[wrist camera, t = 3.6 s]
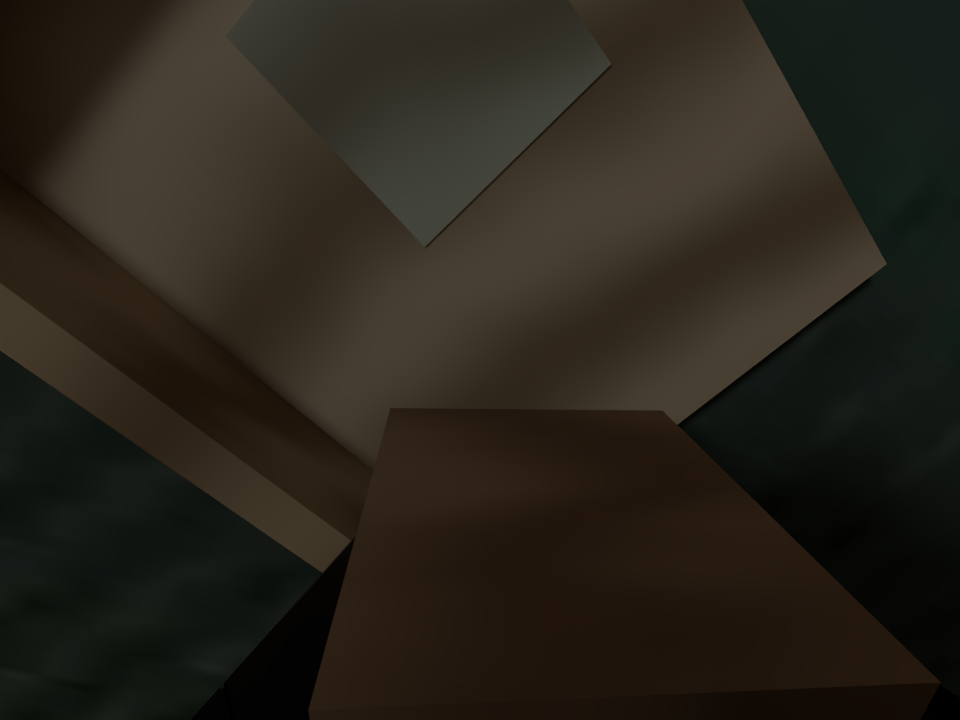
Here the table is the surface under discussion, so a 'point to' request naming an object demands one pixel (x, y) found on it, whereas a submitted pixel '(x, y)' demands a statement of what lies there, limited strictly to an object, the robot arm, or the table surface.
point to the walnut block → (589, 585)
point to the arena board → (397, 223)
